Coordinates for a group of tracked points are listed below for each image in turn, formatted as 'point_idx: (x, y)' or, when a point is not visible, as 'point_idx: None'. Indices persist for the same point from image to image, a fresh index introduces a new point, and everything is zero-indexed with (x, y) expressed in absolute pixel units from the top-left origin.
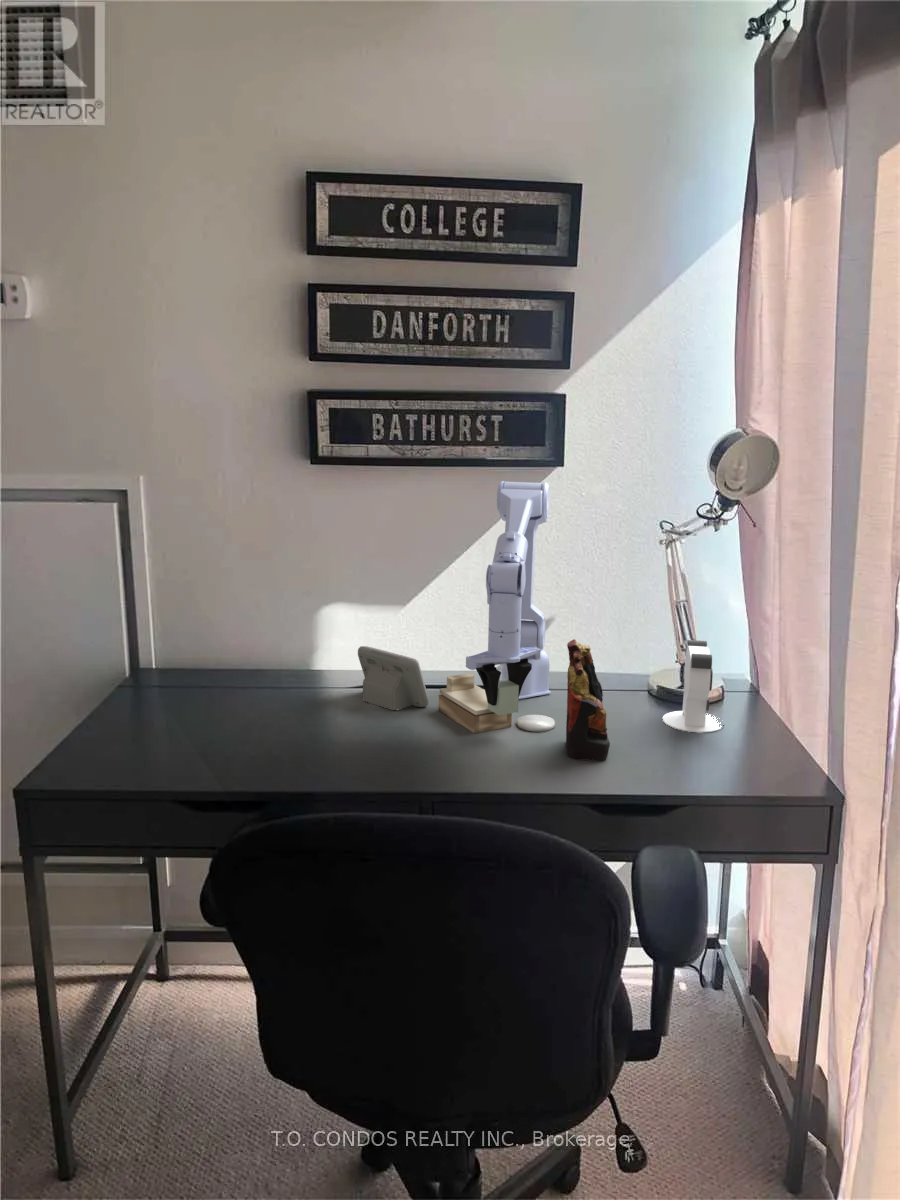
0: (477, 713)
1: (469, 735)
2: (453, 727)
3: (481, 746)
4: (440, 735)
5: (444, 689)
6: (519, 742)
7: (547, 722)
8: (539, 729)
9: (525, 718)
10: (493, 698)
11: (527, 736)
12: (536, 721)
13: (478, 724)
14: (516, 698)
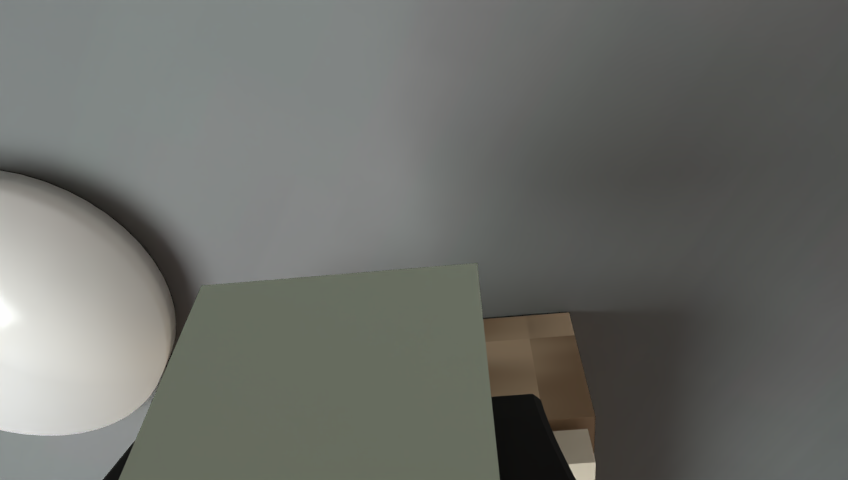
0: (569, 441)
1: (623, 294)
2: (639, 438)
3: (677, 55)
4: (816, 357)
5: None
6: (290, 16)
7: None
8: (13, 185)
9: (82, 390)
10: (566, 468)
11: (164, 122)
12: (3, 317)
13: (540, 363)
14: (177, 418)
